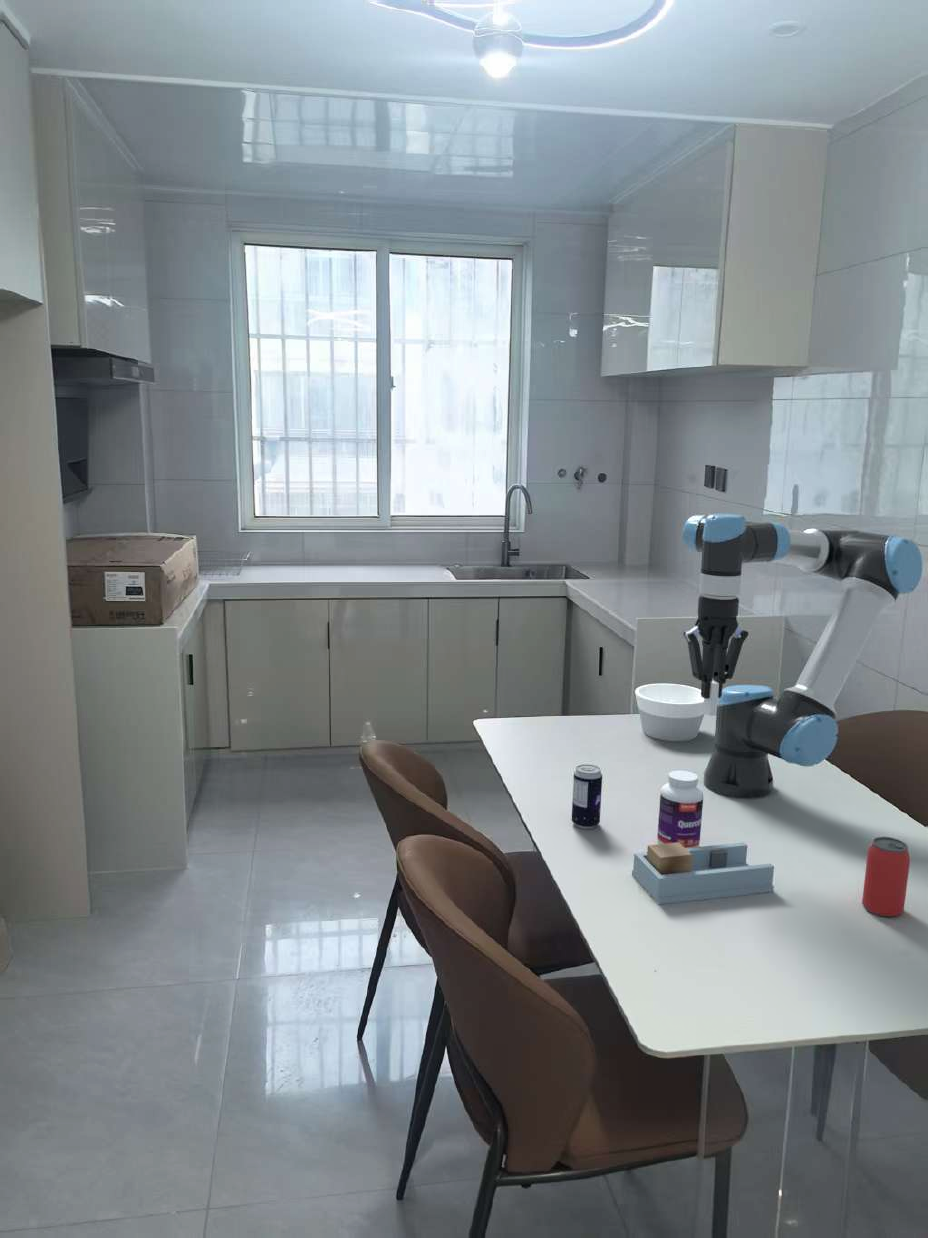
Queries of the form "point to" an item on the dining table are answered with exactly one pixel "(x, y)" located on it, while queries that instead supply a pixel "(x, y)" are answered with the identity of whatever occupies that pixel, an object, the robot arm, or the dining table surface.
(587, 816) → the beverage can
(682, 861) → the walnut block
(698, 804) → the pill bottle
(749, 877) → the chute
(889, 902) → the beer can
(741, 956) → the dining table surface
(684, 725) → the bowl
